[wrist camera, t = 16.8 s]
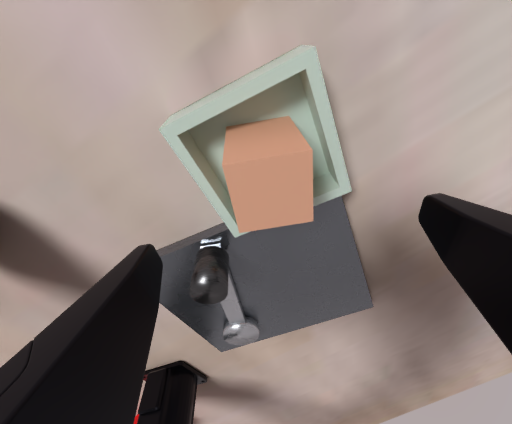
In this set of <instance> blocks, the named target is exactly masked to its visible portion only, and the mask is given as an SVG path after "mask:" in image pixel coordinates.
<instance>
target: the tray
mask: <svg viewBox="0 0 512 424" xmlns="http://www.w3.org/2000/svg"><path fill="white" fill-rule="evenodd" d="M284 116H290V118H291V119H292V121H293V122H294V124H295V125H296V126H297V128H298V129H299V131H300V132H301V134H302V135H303V137H304V138H305V139H306V141H307V142H308V144H309V145H310V147H311V148H312V150H313V207H314V206H316V205H319V204H321V203H324V202H326V201H329V200H331V199H334V198H336V197H339V196H342V195H344V194H347V193H349V192H352V190H351V186H350V182H349V178H348V174H347V170H346V166H345V162H344V158H343V154H342V150H341V146H340V142H339V138H338V134H337V130H336V126H335V122H334V118H333V114H332V110H331V106H330V103H329V99H328V95H327V91H326V87H325V83H324V79H323V75H322V71H321V67H320V63H319V59H318V55H317V51H316V47H315V46H308V45H300V46H299V47H297V48H295V49H293V50H291V51H289V52H288V53H286V54H284V55H282V56H280V57H278V58H276V59H275V60H273V61H271V62H269V63H267V64H265V65H263V66H262V67H260V68H258V69H256V70H254V71H252V72H250V73H249V74H247V75H245V76H243V77H241V78H239V79H238V80H236V81H234V82H232V83H230V84H228V85H226V86H225V87H223V88H221V89H219V90H217V91H215V92H213V93H212V94H210V95H208V96H206V97H204V98H202V99H200V100H199V101H197V102H195V103H193V104H191V105H189V106H187V107H186V108H184V109H182V110H180V111H178V112H176V113H175V114H173V115H171V116H170V117H169V118H168V119H167V120H166V122H165V123H164V124H163V125H162V126H161V127H160V129H159V131H160V132H161V134H162V135H163V136H164V138H165V139H166V141H167V142H168V143H169V145H170V146H171V148H172V149H173V151H174V152H175V153H176V155H177V156H178V158H179V159H180V161H181V162H182V163H183V165H184V166H185V168H186V169H187V170H188V172H189V173H190V175H191V176H192V178H193V179H194V180H195V182H196V183H197V185H198V186H199V187H200V189H201V190H202V192H203V193H204V195H205V196H206V197H207V199H208V200H209V202H210V203H211V205H212V206H213V207H214V209H215V210H216V212H217V213H218V214H219V216H220V217H221V219H222V220H223V222H224V223H225V224H226V226H227V227H228V229H229V230H230V232H231V233H232V234H233V236H234V237H235V238H236V237H238V236H241V235H243V234H246V233H248V232H243V233H239V230H238V226H237V222H236V218H235V214H234V210H233V206H232V202H231V198H230V195H229V191H228V187H227V183H226V179H225V175H224V171H223V167H222V161H223V152H224V143H225V134H226V127H227V126H233V125H239V124H244V123H250V122H256V121H262V120H267V119H273V118H279V117H284ZM250 232H251V231H250Z"/></svg>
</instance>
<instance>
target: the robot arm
mask: <svg viewBox="0 0 512 424" xmlns="http://www.w3.org/2000/svg"><path fill="white" fill-rule="evenodd" d="M419 222H420V224H421V226H422V228H423V229H424V231H425V233H426V235H427V236H428V238H429V240H430V241H431V243H432V245H433V246H434V248H435V250H436V251H437V253H438V255H439V256H440V258H441V260H442V261H443V263H444V264H445V266H446V267H447V268H448V270H449V271H450V272H451V274H452V275H453V276H454V278H455V279H456V280H457V282H458V283H459V284H460V286H461V287H462V289H463V290H464V291H465V293H466V294H467V295H468V297H469V298H470V299H471V301H472V302H473V303H474V305H475V306H476V307H477V309H478V310H479V311H480V313H481V314H482V315H483V317H484V318H485V319H486V321H487V322H488V323H489V325H490V326H491V327H492V329H493V330H494V331H495V333H496V334H497V335H498V337H499V338H500V339H501V341H502V342H503V343H504V345H505V346H506V347H507V349H508V350H509V351H510V353H511V354H512V215H511V214H507V213H504V212H501V211H497V210H494V209H491V208H488V207H484V206H481V205H478V204H474V203H471V202H468V201H464V200H461V199H458V198H455V197H451V196H448V195H445V194H441V193H438V194H432V195H427V196H426V197H425V198H424V199H423V202H422V206H421V209H420V212H419ZM162 271H163V262H162V259H161V258H160V256H159V254H158V253H157V251H156V249H155V248H154V246H153V245H152V244H146V245H140V246H138V247H137V248H136V249H134V250H133V251H132V252H131V253H130V254H129V255H128V256H126V257H125V258H124V259H123V260H122V261H121V262H120V263H119V264H117V265H116V266H115V267H114V268H113V269H112V270H111V271H110V272H108V273H107V274H106V275H105V276H104V277H103V278H102V279H100V280H99V281H98V282H97V283H96V284H95V285H94V286H93V287H91V288H90V289H89V290H88V291H87V292H86V293H85V294H84V295H82V296H81V297H80V298H79V299H78V300H77V301H76V302H75V303H73V304H72V305H71V306H70V307H69V308H68V309H67V310H65V311H64V312H63V313H62V314H61V315H60V316H59V317H58V318H56V319H55V320H54V321H53V322H52V323H51V324H50V325H49V326H47V327H46V328H45V329H44V330H43V331H42V332H41V333H40V334H38V335H37V336H36V337H35V338H34V340H33V341H30V342H29V343H28V344H27V345H26V346H25V347H24V348H23V349H21V350H20V351H19V352H18V353H17V354H16V355H15V356H13V357H12V358H11V359H10V360H9V361H8V362H7V363H5V364H4V365H3V366H2V367H1V368H0V424H134V419H135V415H136V410H137V406H138V401H139V396H140V392H141V387H142V383H143V380H145V381H146V383H145V387H144V391H143V395H142V399H141V402H140V406H139V410H138V414H139V417H138V421H137V424H193V417H194V408H195V399H196V390H197V385H198V384H201V383H205V382H207V377H206V376H204V375H202V374H201V373H199V372H198V371H196V370H195V369H193V368H191V367H190V366H188V365H187V364H185V363H184V362H176V363H173V364H169V365H166V366H163V367H159V368H156V369H153V370H149V371H146V372H145V369H146V364H147V360H148V355H149V350H150V346H151V341H152V337H153V332H154V327H155V323H156V318H157V313H158V308H159V300H160V291H161V281H162Z"/></svg>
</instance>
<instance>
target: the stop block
mask: <svg viewBox="0 0 512 424" xmlns="http://www.w3.org/2000/svg"><path fill="white" fill-rule="evenodd" d="M222 167H223V171H224V175H225V179H226V183H227V187H228V191H229V195H230V198H231V202H232V206H233V210H234V214H235V218H236V222H237V226H238V230H239V233H243V232H250V231H256V230H262V229H268V228H275V227H281V226H287V225H293V224H300V223H306V222H312V221H313V150H312V148H311V147H310V145H309V144H308V142H307V141H306V139H305V138H304V137H303V135H302V134H301V132H300V131H299V129H298V128H297V126H296V125H295V124H294V122H293V121H292V119H291V118H290V116H284V117H279V118H273V119H267V120H262V121H256V122H250V123H244V124H239V125H233V126H227V127H226V134H225V143H224V152H223V161H222Z"/></svg>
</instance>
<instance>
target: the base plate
mask: <svg viewBox="0 0 512 424" xmlns="http://www.w3.org/2000/svg"><path fill="white" fill-rule="evenodd" d="M219 243H221V246H222V249H224V250H225V251H226V252H227V253H228V255H229V270H230V273H231V276H232V279H233V282H234V285H235V288H236V291H237V294H238V297H239V300H240V303H241V306H242V309H243V312H244V315H245V317H249V318H252V319H254V320H256V321H257V322H258V325H259V338H258V339H257V340H256V341H255V342H257V341H260V340H264V339H267V338H270V337H274V336H277V335H281V334H284V333H287V332H291V331H294V330H297V329H301V328H304V327H308V326H311V325H314V324H318V323H321V322H324V321H328V320H331V319H335V318H338V317H341V316H345V315H348V314H351V313H355V312H358V311H362V310H365V309H368V308H372V307H373V304H372V300H371V297H370V293H369V290H368V286H367V283H366V279H365V276H364V272H363V269H362V265H361V262H360V258H359V255H358V251H357V248H356V244H355V241H354V238H353V234H352V231H351V227H350V224H349V220H348V217H347V213H346V210H345V206H344V203H343V199H342V196H339V197H336V198H334V199H331V200H329V201H326V202H324V203H321V204H319V205H316V206H314V207H313V221H312V222H306V223H300V224H293V225H287V226H281V227H275V228H268V229H262V230H256V231H251V232H248V233H246V234H243V235H241V236H238V237H236V238H235V237H234V236H233V234H232V233H231V232H230V230H229V229H228V227H227V226H226V224H225V223H222V224H219V225H217V226H214V227H212V228H210V229H207V230H205V231H202V232H200V233H198V234H195V235H193V236H190V237H188V238H185V239H183V240H181V241H178V242H176V243H173V244H171V245H169V246H166V247H164V248H161V249H159V250H157V253H158V254H159V256H160V258H161V259H162V262H163V271H162V281H161V291H160V300H159V303H160V304H162V305H163V306H164V307H165V308H167V309H168V310H169V311H170V312H172V313H173V314H174V315H176V316H177V317H178V318H179V319H181V320H182V321H183V322H184V323H186V324H187V325H188V326H189V327H191V328H192V329H193V330H194V331H196V332H197V333H198V334H199V335H201V336H202V337H203V338H204V339H206V340H207V341H208V342H209V343H211V344H212V345H213V346H214V347H216V348H217V349H218V350H219V351H221V352H223V351H227V350H230V349H233V348H237V347H240V346H243V345H232V344H229V343H227V342H226V341H224V339H223V326H224V324H225V322H226V321H228V319H227V317H226V314H225V312H224V309H223V307H222V305H221V302H219V303H216V304H202V303H199V302H196V301H195V300H193V299H192V298H191V297H190V295H189V290H190V284H191V279H192V274H193V268H194V263H195V257H196V254H197V252H198V251H199V250H200V246H206V245H213V244H219ZM253 343H254V342H253Z"/></svg>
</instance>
